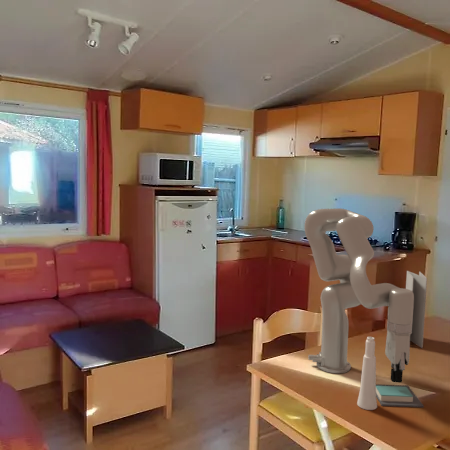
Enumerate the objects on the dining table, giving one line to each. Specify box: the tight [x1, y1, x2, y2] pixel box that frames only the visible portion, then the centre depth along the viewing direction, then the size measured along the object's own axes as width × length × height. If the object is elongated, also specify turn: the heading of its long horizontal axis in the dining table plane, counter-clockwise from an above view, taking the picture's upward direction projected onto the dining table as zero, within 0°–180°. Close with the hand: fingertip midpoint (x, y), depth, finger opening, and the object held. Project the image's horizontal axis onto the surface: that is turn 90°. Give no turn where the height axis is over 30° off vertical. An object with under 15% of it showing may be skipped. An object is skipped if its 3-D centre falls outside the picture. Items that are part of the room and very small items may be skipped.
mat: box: [376, 383, 425, 408], centre depth 152 cm, size 13×14×1 cm
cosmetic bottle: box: [356, 336, 378, 411], centre depth 144 cm, size 6×6×22 cm
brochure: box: [405, 270, 428, 349], centre depth 201 cm, size 14×6×30 cm, turn 168°
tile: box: [376, 386, 413, 402], centre depth 150 cm, size 10×2×6 cm
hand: (396, 381), depth 151 cm, fingers closed
